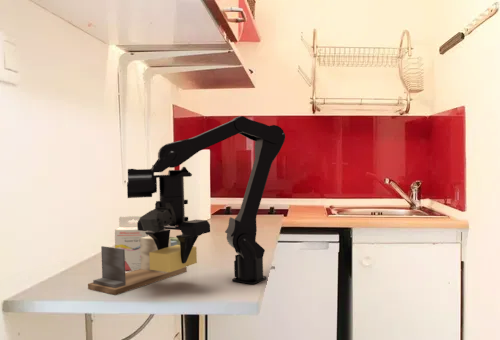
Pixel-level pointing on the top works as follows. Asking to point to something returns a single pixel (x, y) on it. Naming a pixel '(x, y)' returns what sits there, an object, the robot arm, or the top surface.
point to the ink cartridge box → (129, 241)
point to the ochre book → (170, 259)
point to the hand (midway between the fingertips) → (173, 261)
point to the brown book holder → (120, 281)
